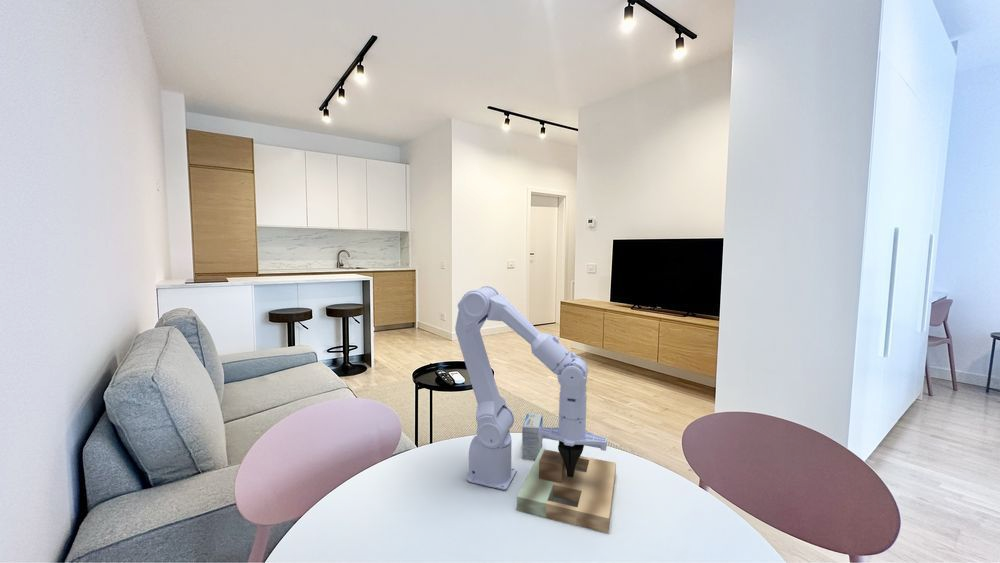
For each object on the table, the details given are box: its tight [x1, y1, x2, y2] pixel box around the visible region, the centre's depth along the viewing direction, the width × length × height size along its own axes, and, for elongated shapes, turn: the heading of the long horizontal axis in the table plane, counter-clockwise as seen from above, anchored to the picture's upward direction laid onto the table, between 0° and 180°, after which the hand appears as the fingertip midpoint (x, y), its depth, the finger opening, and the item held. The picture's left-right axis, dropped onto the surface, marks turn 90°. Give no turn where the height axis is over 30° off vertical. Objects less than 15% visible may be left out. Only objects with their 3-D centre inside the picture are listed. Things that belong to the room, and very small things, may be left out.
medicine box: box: [521, 413, 544, 461], centre depth 101 cm, size 8×4×9 cm, turn 168°
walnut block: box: [539, 449, 566, 484], centre depth 86 cm, size 5×5×4 cm
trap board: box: [516, 448, 617, 534], centre depth 85 cm, size 18×20×3 cm
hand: (570, 474), depth 85 cm, fingers closed
